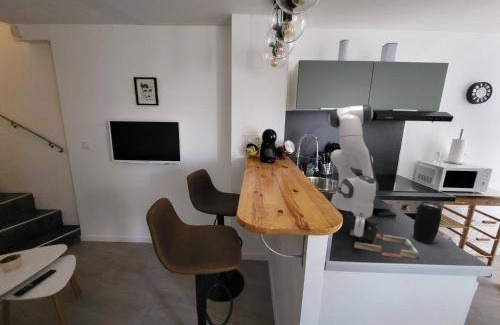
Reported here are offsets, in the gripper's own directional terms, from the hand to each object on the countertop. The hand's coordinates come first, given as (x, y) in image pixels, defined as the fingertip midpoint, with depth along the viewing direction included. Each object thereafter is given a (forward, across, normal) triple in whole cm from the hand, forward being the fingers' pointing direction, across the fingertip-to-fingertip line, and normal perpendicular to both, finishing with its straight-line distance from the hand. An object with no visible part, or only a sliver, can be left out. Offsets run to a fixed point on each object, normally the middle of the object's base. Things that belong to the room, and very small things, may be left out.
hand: (357, 235), depth 103 cm
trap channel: (+3, +4, -10) cm, 11 cm away
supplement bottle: (+3, +1, -4) cm, 5 cm away
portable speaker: (+3, +20, -29) cm, 35 cm away
